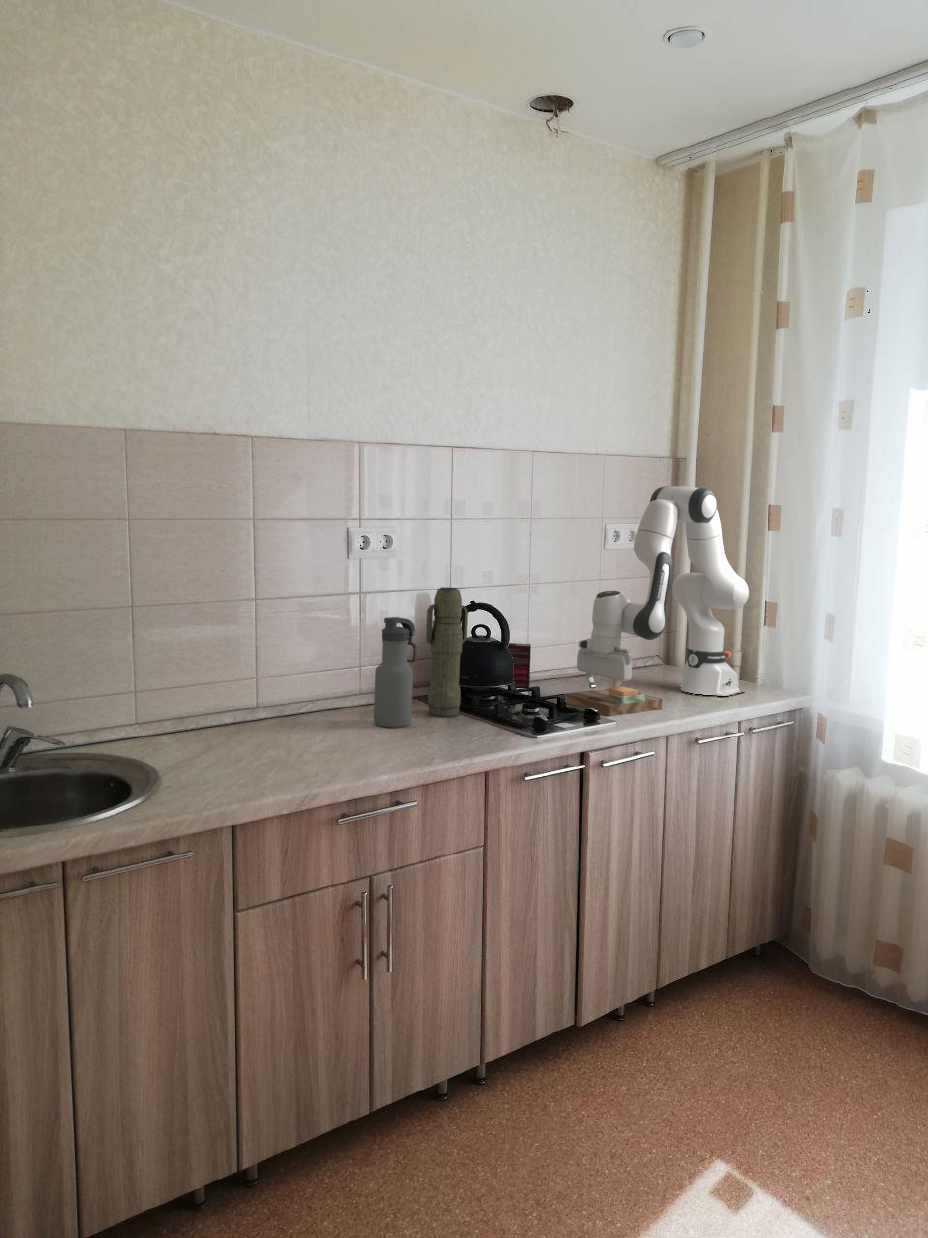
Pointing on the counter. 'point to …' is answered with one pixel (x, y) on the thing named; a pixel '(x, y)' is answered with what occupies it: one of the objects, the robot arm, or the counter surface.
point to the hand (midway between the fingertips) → (602, 690)
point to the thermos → (446, 651)
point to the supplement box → (521, 663)
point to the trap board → (613, 702)
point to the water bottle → (395, 675)
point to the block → (622, 691)
